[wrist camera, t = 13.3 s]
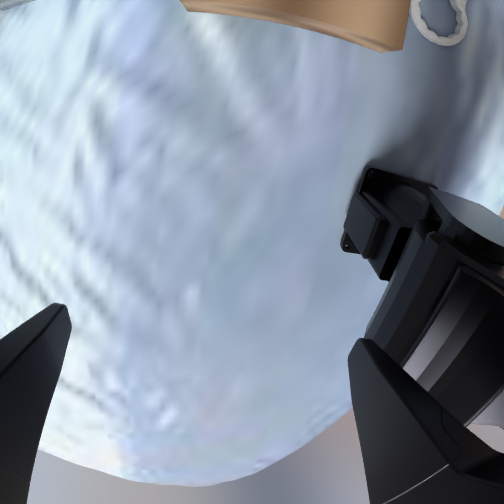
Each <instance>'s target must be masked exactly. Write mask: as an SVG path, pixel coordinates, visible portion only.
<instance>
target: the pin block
mask: <svg viewBox="0 0 504 504" xmlns="http://www.w3.org/2000/svg"><path fill="white" fill-rule="evenodd" d="M180 2H181V3H182V4H183V6H184V7H185V8H186V10H187V11H189V12H204V13H215V14H225V15H233V16H241V17H248V18H254V19H260V20H266V21H271V22H276V23H281V24H286V25H291V26H295V27H299V28H304V29H308V30H312V31H315V32H319V33H323V34H326V35H330V36H333V37H337V38H340V39H343V40H346V41H349V42H352V43H355V44H358V45H361V46H364V47H367V48H370V49H372V50H375V51H378V52H388V51H398V50H402V49H403V43H404V38H405V32H406V26H407V20H408V14H409V7H410V0H180Z"/></svg>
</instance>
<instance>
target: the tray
mask: <svg viewBox="0 0 504 504" xmlns="http://www.w3.org/2000/svg"><path fill="white" fill-rule="evenodd" d="M31 1H35V0H0V10H5V9H8V8H11V7H14V6H17V5H21V4H24V3H27V2H31Z"/></svg>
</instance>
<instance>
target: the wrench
mask: <svg viewBox="0 0 504 504" xmlns="http://www.w3.org/2000/svg"><path fill="white" fill-rule="evenodd" d="M420 1H421V0H410V7H409V13H410V16H411V18H412V21H413V23H414V24H415V26H416V28H417V29H418V30H419V31H420V33H421V34H422V35H423V36H424V37H426V38H427V39H428V40H430V41H431V42H433V43H436V44H439V45H443V46H452V45H455V44H457V43H459V42H460V41H461V40H462V39H463V38H464V36H465V34H466V32H467V26H468V22H467V15H466V12H465V6H466V2H467V1H468V0H449V1H450V3H451V6H452V8H453V9H454V10H455V11H456V20H457V23H458V25H457V26H456V27H455V33H454V34H451V35H449V36H448V37H447V38H446V37H443V36H439V37H438V36H437V35H436V34H435V33H434V32H433V31H430V30H428V28H427V26H426V23H425V22H424V20H423V19H422V18H421V17H420V14H421V9H420V7H419V4H418V3H419V2H420Z"/></svg>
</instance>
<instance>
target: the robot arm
mask: <svg viewBox="0 0 504 504" xmlns="http://www.w3.org/2000/svg"><path fill="white" fill-rule="evenodd" d="M370 171H373V174H372V176H368V174H369V172H370ZM344 228H345V231H344V234H343V237H342V240H341V243H340V246H341V248H342V250H343V251H344V252H349V253H356V254H361V255H362V257H363V258H364V259H368V261H369V263H370V264H371V266H372V267H373V269H374V271H375V272H376V274H377V275H378V277H379V279H380V280H386V281H388V282H389V284H388V286H387V288H386V290H385V292H384V294H383V296H382V298H381V300H380V302H379V304H378V306H377V308H376V310H375V312H374V314H373V316H372V318H371V320H370V322H369V324H368V325H367V328H366V332H365V336H364V338H359V339H358V340H357V341H356V343H355V345H354V346H353V348H352V350H351V352H350V354H349V356H348V369H349V378H350V388H351V398H352V405H353V410H354V415H355V420H356V425H357V430H358V435H359V440H360V446H361V451H362V457H363V463H364V468H365V475H366V481H367V487H368V493H369V500H370V504H504V453H500V452H498V451H496V450H494V449H492V448H491V447H490V446H488V445H487V444H486V443H485V442H483V441H482V440H481V439H479V438H478V437H477V436H476V435H475V434H473V433H472V432H471V431H470V430H468V429H467V428H466V427H467V426H468V425H469V424H470V423H472V424H483V425H494V426H495V425H496V426H499V427H500V428H502V429H504V219H502V218H501V217H499V216H498V215H496V214H495V213H493V212H492V211H490V210H489V209H487V208H486V207H484V206H482V205H480V204H478V203H475V202H472V201H470V200H467V199H464V198H461V197H458V196H456V195H453V194H450V193H447V192H444V191H441V190H438V188H437V187H436V186H435V185H433V184H431V183H428V182H424V181H421V180H418V179H415V178H412V177H408V176H405V175H402V174H398V173H395V172H391V171H388V170H384V169H380V168H377V167H373V166H367V167H366V168H365V169H364V170H363V173H362V177H361V180H360V183H359V187H358V190H357V192H356V193H355V194H354V195H353V198H352V201H351V204H350V207H349V210H348V214H347V217H346V220H345V223H344ZM347 243H350V244H349V246H346V247H345V245H346V244H347ZM71 329H72V326H71V321H70V317H69V313H68V309H67V307H66V305H64V304H60V303H53V304H51V305H49V306H48V307H46V308H45V309H43V310H42V311H40V312H39V313H37V314H36V315H35V316H33V317H32V318H30V319H29V320H27V321H26V322H24V323H23V324H21V325H20V326H19V327H17V328H16V329H14V330H13V331H11V332H10V333H9V334H7V335H6V336H4V337H3V338H2V339H0V504H27V498H28V492H29V487H30V481H31V475H32V471H33V466H34V462H35V458H36V453H37V449H38V445H39V441H40V438H41V434H42V430H43V427H44V423H45V420H46V416H47V413H48V410H49V406H50V403H51V400H52V397H53V394H54V391H55V388H56V385H57V382H58V379H59V376H60V373H61V369H62V365H63V361H64V357H65V353H66V349H67V345H68V341H69V337H70V334H71Z"/></svg>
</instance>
